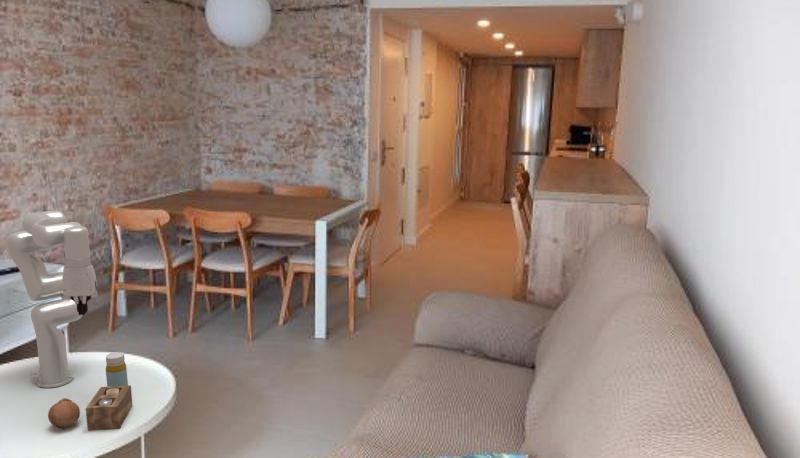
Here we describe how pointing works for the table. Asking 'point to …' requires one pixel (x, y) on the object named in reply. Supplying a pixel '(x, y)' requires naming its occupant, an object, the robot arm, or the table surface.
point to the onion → (64, 413)
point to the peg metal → (105, 402)
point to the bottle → (116, 370)
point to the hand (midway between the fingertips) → (82, 313)
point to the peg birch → (112, 391)
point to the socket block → (109, 409)
